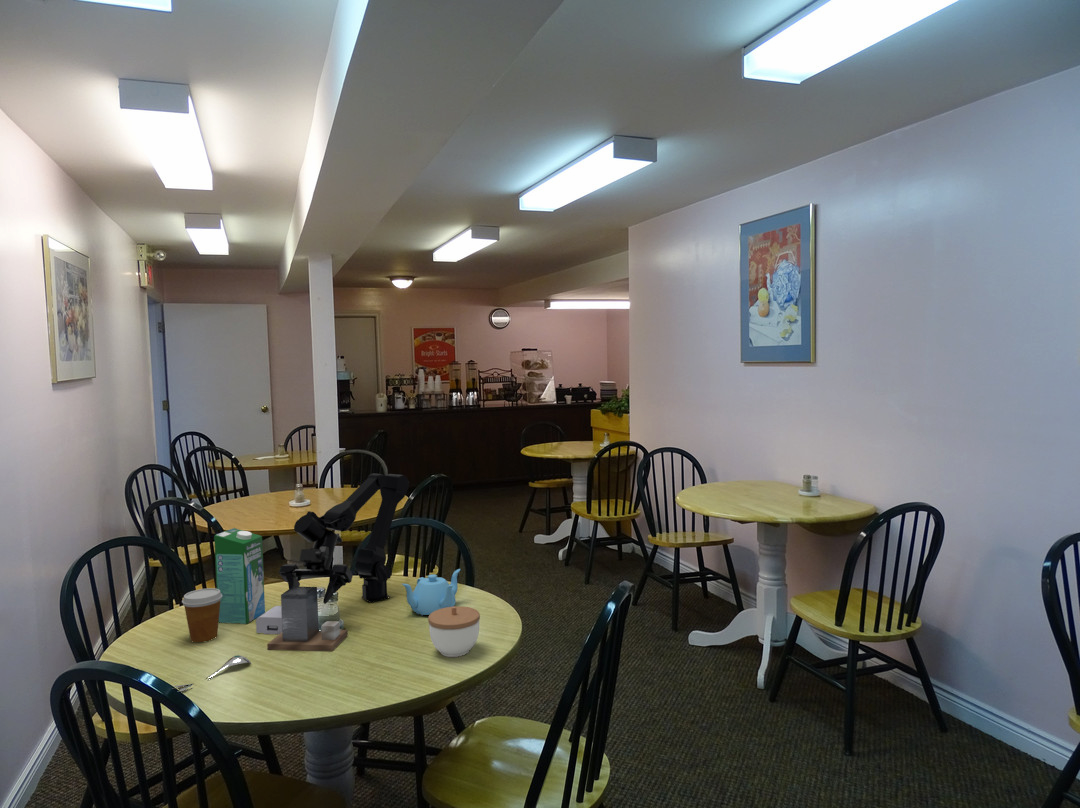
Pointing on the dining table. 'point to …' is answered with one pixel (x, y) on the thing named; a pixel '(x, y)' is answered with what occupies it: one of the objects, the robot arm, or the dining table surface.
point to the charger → (270, 621)
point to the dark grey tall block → (299, 614)
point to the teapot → (432, 594)
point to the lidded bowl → (454, 630)
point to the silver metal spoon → (230, 662)
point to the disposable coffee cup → (202, 613)
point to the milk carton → (239, 575)
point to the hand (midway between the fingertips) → (307, 603)
